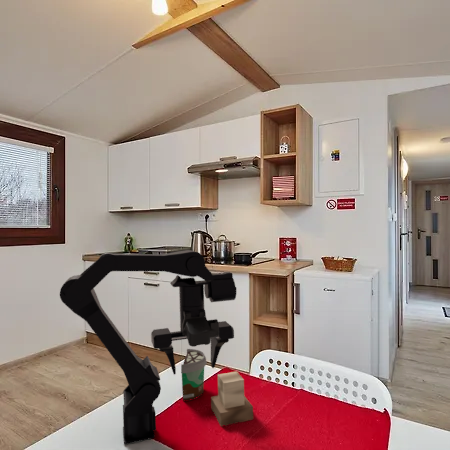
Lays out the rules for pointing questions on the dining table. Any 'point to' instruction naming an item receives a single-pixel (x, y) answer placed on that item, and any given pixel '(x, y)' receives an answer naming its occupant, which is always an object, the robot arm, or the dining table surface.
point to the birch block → (230, 389)
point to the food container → (193, 374)
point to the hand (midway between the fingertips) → (193, 370)
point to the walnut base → (231, 412)
